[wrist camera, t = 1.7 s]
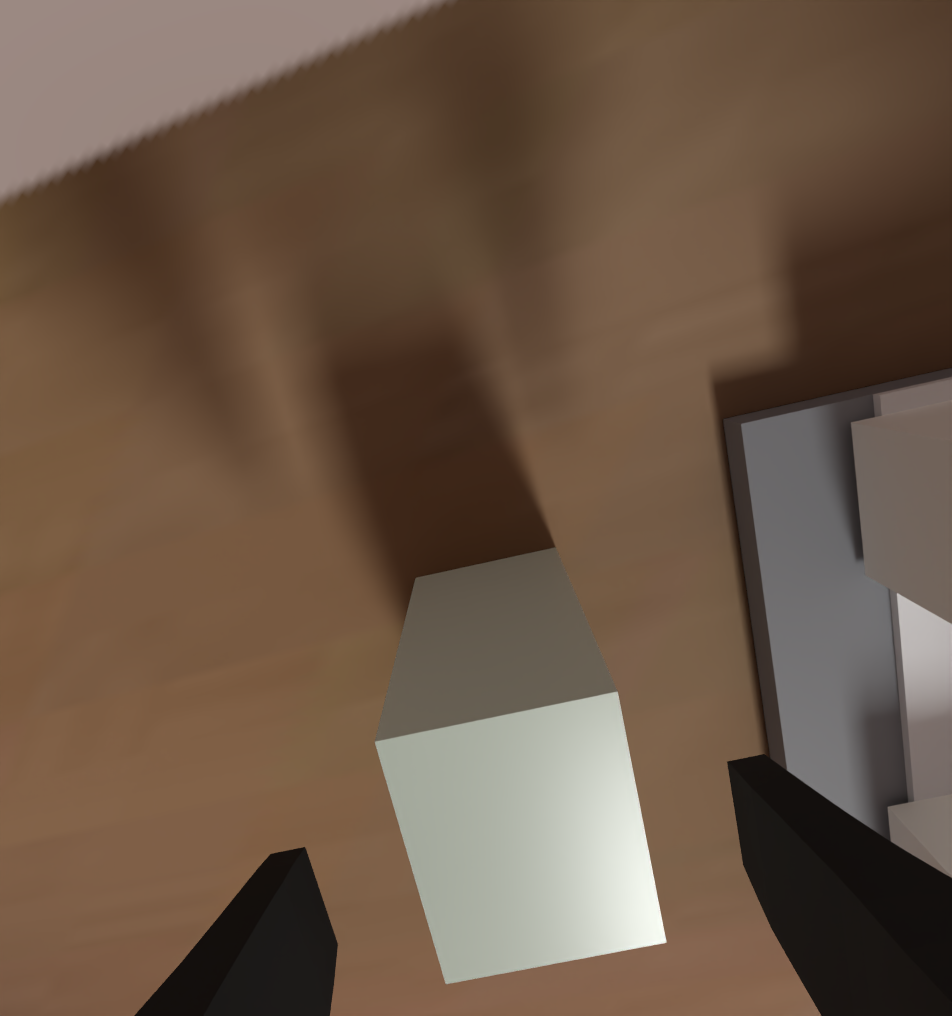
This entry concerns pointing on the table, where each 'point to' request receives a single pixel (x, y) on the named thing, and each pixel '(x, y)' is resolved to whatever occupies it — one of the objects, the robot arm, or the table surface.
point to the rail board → (856, 598)
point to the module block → (514, 774)
